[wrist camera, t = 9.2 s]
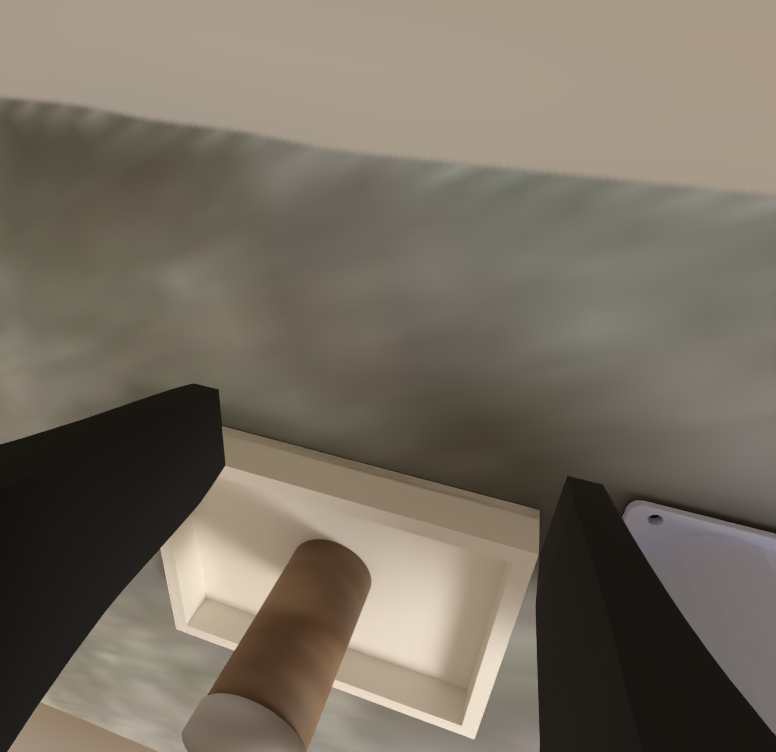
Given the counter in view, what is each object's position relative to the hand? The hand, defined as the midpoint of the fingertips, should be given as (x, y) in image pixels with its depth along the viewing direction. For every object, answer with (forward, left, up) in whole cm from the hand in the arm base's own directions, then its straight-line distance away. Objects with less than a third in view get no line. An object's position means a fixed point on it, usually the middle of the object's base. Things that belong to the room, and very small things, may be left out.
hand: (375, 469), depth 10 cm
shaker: (+4, +15, -9) cm, 18 cm away
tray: (+4, +15, -9) cm, 18 cm away
